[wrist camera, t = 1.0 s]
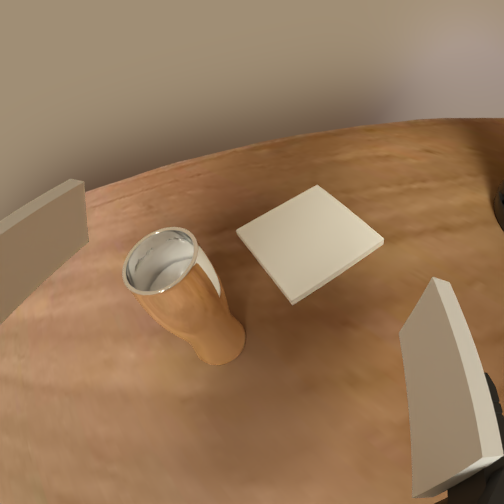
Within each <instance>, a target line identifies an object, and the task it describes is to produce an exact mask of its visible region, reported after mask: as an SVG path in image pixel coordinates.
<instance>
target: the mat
mask: <svg viewBox="0 0 504 504" xmlns="http://www.w3.org/2000/svg"><path fill="white" fill-rule="evenodd" d="M236 232H237V235H238V236H239V238H240V239H241V240H242V241H243V243H244V244H245V245H246V247H247V248H248V249H249V250H250V252H251V253H252V254H253V256H254V257H255V258H256V259H257V261H258V262H259V263H260V265H261V266H262V267H263V268H264V270H265V271H266V272H267V274H268V275H269V276H270V277H271V279H272V280H273V281H274V282H275V284H276V285H277V286H278V288H279V289H280V290H281V291H282V293H283V294H284V295H285V297H286V298H287V299H288V300H289V302H290V303H291V304H292V305H294V304H295V303H297V302H299V301H300V300H302V299H303V298H305V297H306V296H308V295H309V294H311V293H313V292H314V291H316V290H317V289H319V288H320V287H322V286H323V285H325V284H326V283H328V282H329V281H331V280H332V279H334V278H335V277H337V276H338V275H340V274H341V273H343V272H344V271H346V270H347V269H349V268H350V267H351V266H353V265H354V264H356V263H357V262H359V261H360V260H362V259H363V258H364V257H366V256H367V255H369V254H370V253H372V252H373V251H374V250H376V249H377V248H379V247H380V246H382V245H383V244H384V238H383V237H381V236H380V235H379V234H378V233H377V232H376V231H374V230H373V229H372V228H371V227H370V226H368V225H367V224H366V223H365V222H364V221H362V220H361V219H360V218H359V217H358V216H356V215H355V214H354V213H353V212H351V211H350V210H349V209H348V208H347V207H345V206H344V205H343V204H342V203H340V202H339V201H338V200H336V199H335V198H334V197H333V196H331V195H330V194H329V193H328V192H326V191H325V190H324V189H322V188H321V187H320V186H318V185H316V186H314V187H312V188H310V189H309V190H307V191H305V192H303V193H301V194H299V195H298V196H296V197H294V198H292V199H290V200H288V201H287V202H285V203H283V204H281V205H279V206H278V207H276V208H274V209H272V210H270V211H269V212H267V213H265V214H263V215H262V216H260V217H258V218H256V219H254V220H253V221H251V222H249V223H247V224H246V225H244V226H242V227H240V228H238V229H237V230H236Z"/></svg>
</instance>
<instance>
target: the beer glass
mask: <svg viewBox="0 0 504 504" xmlns="http://www.w3.org/2000/svg"><path fill="white" fill-rule="evenodd" d="M122 276H123V281H124V283H125V285H126V287H127V288H128V289H129V290H130V291H131V293H132V294H133V295H134V297H135V298H136V299H137V301H138V302H139V303H140V305H141V306H142V307H143V308H144V310H145V311H146V312H147V313H148V314H149V315H150V316H151V317H152V318H153V319H154V320H155V321H156V322H157V323H158V324H159V325H161V326H162V327H163V328H165V329H166V330H168V331H169V332H171V333H172V334H174V335H176V336H178V337H179V338H181V339H183V340H185V341H187V342H188V343H190V344H191V345H192V347H193V349H194V351H195V353H196V354H197V356H198V357H199V358H200V359H201V360H202V361H204V362H205V363H208V364H211V365H223V364H226V363H229V362H231V361H232V360H234V359H235V358H236V357H237V356H238V355H239V354H240V353H241V351H242V350H243V348H244V345H245V340H246V336H245V331H244V328H243V326H242V325H241V323H240V322H239V321H238V320H237V319H235V318H234V317H233V316H232V315H231V314H230V311H229V308H228V303H227V299H226V295H225V291H224V288H223V285H222V282H221V280H220V277H219V275H218V273H217V271H216V269H215V267H214V266H213V264H212V262H211V261H210V259H209V258H208V256H207V255H206V253H205V252H204V250H203V249H202V247H201V246H200V245H199V243H198V242H197V240H196V238H195V236H194V235H193V234H192V233H191V232H190V231H188V230H186V229H184V228H180V227H167V228H163V229H159V230H157V231H154V232H152V233H150V234H149V235H147V236H145V237H144V238H143V239H141V240H140V241H139V242H138V243H137V244H136V245H135V246H134V247H133V248H132V249H131V251H130V252H129V254H128V255H127V257H126V259H125V262H124V265H123V270H122Z"/></svg>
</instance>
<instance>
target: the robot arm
mask: <svg viewBox="0 0 504 504" xmlns="http://www.w3.org/2000/svg"><path fill="white" fill-rule="evenodd" d="M494 211H495V215H496V217H497V220H498V222H499V224H500V226H501V227H502V229H503V230H504V180H503V181H502V183H501V184H500V186H499V188H498V190H497V194H496V197H495V200H494ZM88 242H89V238H88V228H87V217H86V204H85V186H84V182H83V181H79V180H75V179H69V180H67V181H65V182H64V183H62V184H60V185H58V186H57V187H55V188H53V189H51V190H49V191H48V192H46V193H44V194H42V195H41V196H39V197H37V198H36V199H34V200H32V201H31V202H29V203H27V204H26V205H24V206H23V207H21V208H19V209H18V210H16V211H15V212H13V213H12V214H10V215H8V216H7V217H5V218H4V219H2V220H1V221H0V325H1V324H2V323H3V322H4V320H5V319H6V318H7V317H8V316H9V315H10V314H11V313H12V312H13V311H14V310H15V309H16V308H17V307H18V306H19V305H20V304H21V303H22V302H23V301H24V300H25V299H26V298H27V297H28V296H29V295H30V294H31V293H32V292H34V291H35V290H36V289H37V288H38V287H39V286H40V285H41V284H42V283H43V282H44V281H45V280H46V279H47V278H48V277H49V276H51V275H52V274H53V273H54V272H55V271H56V270H57V269H58V268H59V267H61V266H62V265H63V264H64V263H65V262H66V261H67V260H68V259H70V258H71V257H72V256H73V255H74V254H75V253H76V252H78V251H79V250H80V249H81V248H82V247H83V246H85V245H86V244H87V243H88ZM399 337H400V343H401V350H402V357H403V364H404V371H405V379H406V387H407V397H408V407H409V419H410V433H411V452H412V498H425V497H434V496H436V495H438V494H440V493H442V492H444V491H446V490H448V497H447V498H445V499H443V500H441V501H439V502H437V503H435V504H504V416H503V415H502V409H501V405H500V404H499V397H498V394H497V390H496V387H495V385H494V383H493V382H492V380H491V378H490V377H489V375H488V374H487V373H484V371H483V368H482V365H481V362H480V359H479V356H478V353H477V350H476V347H475V344H474V341H473V339H472V336H471V333H470V331H469V328H468V325H467V323H466V320H465V318H464V315H463V313H462V310H461V308H460V305H459V303H458V301H457V298H456V296H455V294H454V291H453V289H452V287H451V285H450V283H449V282H447V281H444V280H441V279H438V278H435V277H432V279H431V280H430V282H429V284H428V286H427V288H426V289H425V291H424V293H423V294H422V296H421V298H420V300H419V301H418V303H417V305H416V306H415V308H414V310H413V311H412V313H411V314H410V316H409V318H408V319H407V321H406V322H405V324H404V326H403V327H402V329H401V330H400V332H399Z"/></svg>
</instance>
